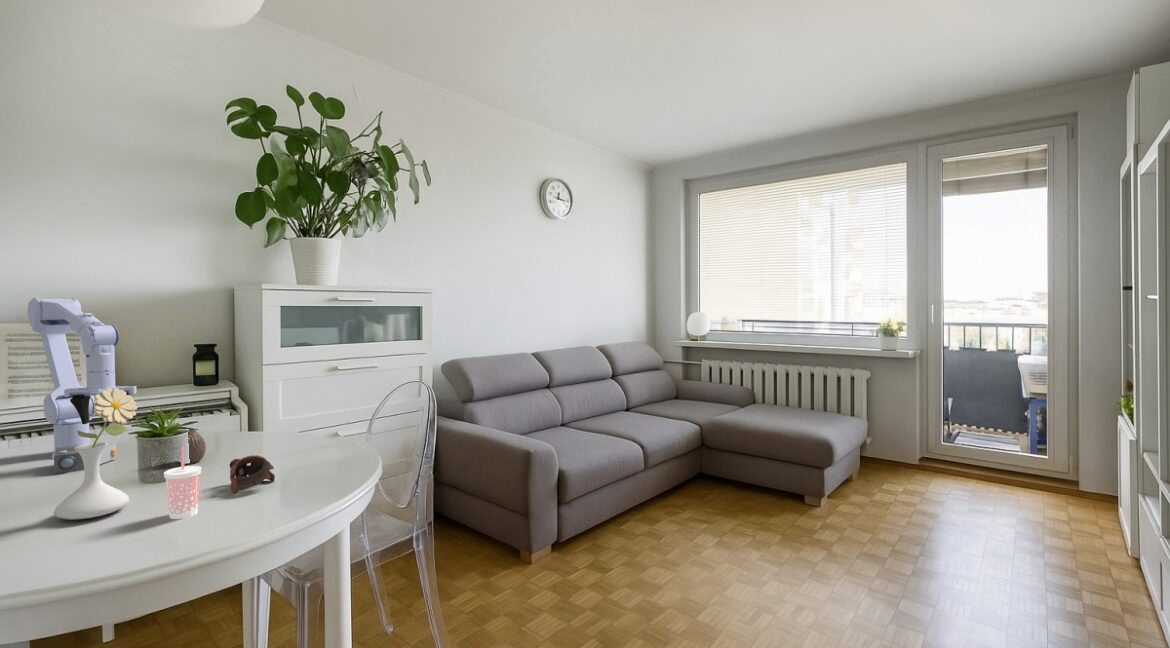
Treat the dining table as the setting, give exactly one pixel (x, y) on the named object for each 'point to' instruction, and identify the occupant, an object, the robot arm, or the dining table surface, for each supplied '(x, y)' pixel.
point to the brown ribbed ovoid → (196, 446)
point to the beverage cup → (183, 489)
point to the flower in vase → (94, 492)
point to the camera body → (67, 459)
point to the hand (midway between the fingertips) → (102, 422)
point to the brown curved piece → (249, 472)
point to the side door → (108, 453)
